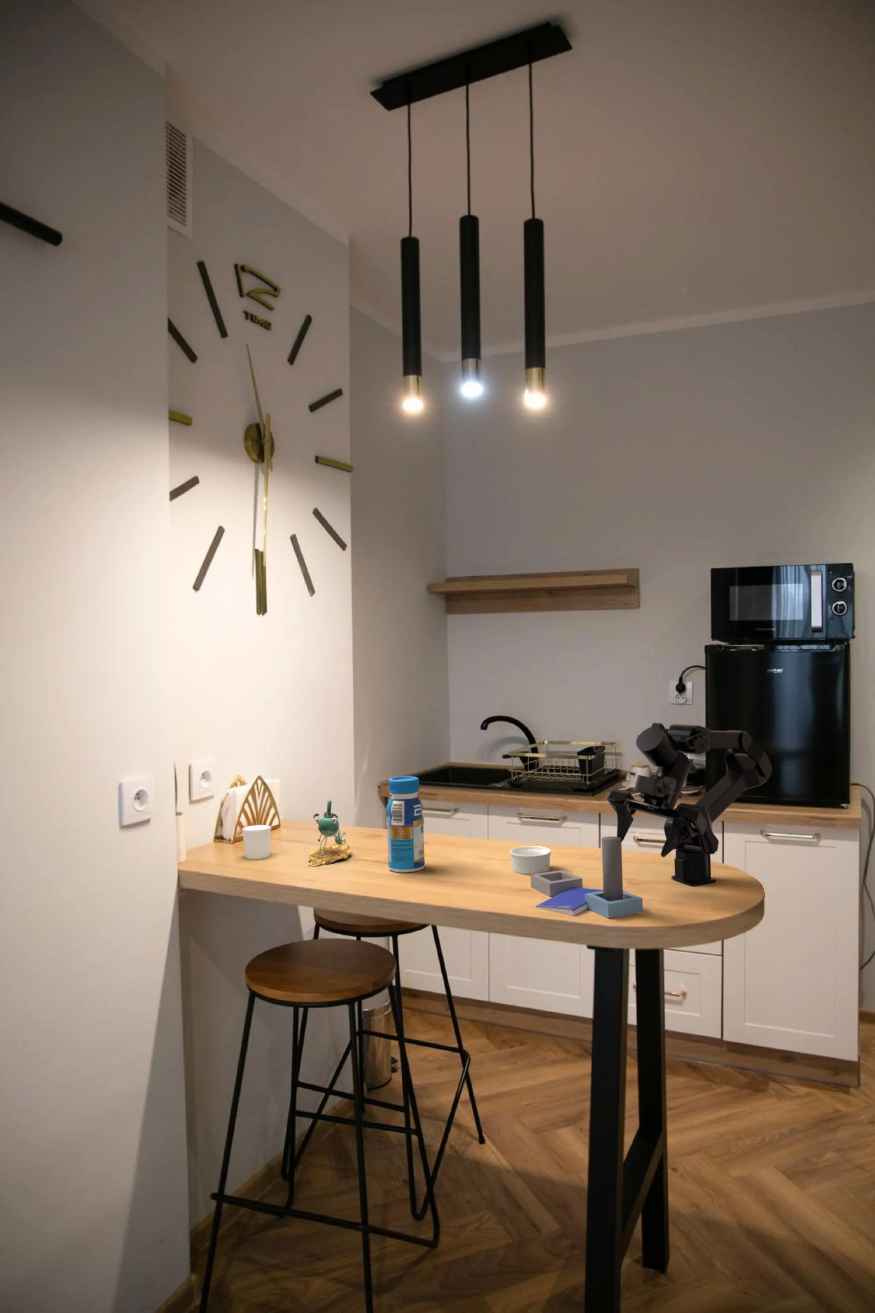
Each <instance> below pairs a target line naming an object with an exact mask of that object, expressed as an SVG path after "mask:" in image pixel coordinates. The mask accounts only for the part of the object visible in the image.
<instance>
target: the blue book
mask: <svg viewBox="0 0 875 1313" xmlns="http://www.w3.org/2000/svg"><path fill="white" fill-rule="evenodd" d="M599 891H603V889H599V888H587V887H583V888H576V887H573V888H570V889H569V890H566V891H564V892H562V893H560V894H558V895H556V896H551V898H549V899H546V900H545V901H542V902H540V903H538V904H537V905H535V909H539V910H544V911H549V912H553V913H559V914H563V915H566V916H567V915H569V916H572V917H573V916H576V915H578V914H580V913H582V912H584V911H586V910H587V908H588V905H587V901H585V894H587V893H593V892H599Z"/></svg>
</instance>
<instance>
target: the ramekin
mask: <svg viewBox="0 0 875 1313" xmlns="http://www.w3.org/2000/svg"><path fill="white" fill-rule="evenodd" d="M551 854H552V850H551V849H550V848H548V847H545V846H541V845H540V846H538V845H524V846H516V847H514V848H512V849H510V850H509V855H510V861H511V868H512V871H513V872H515V873H516V874H520V875H530V876H531V875H533V874H540V873H546V872H549V870H550V863H551Z"/></svg>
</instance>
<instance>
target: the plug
mask: <svg viewBox="0 0 875 1313" xmlns="http://www.w3.org/2000/svg"><path fill="white" fill-rule="evenodd" d="M622 851H623V850H622V843H621V838H620V837H617V836H604V837H602V838H601V858H602V859H601V860H602V861H601V862H602V865H601V866H602V888H603V889H602V890H603V898H604V899H605V900H607V901H616V900H622V899H623V890H624V888H623V887H624V886H623V884H624V882H623V881H624V880H623V856H622V855H623V852H622Z"/></svg>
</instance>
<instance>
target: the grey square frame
mask: <svg viewBox="0 0 875 1313" xmlns="http://www.w3.org/2000/svg"><path fill="white" fill-rule="evenodd" d="M583 886H584V885H583V878H582V877H580V876H578V875H575V874H572V873H570V872H568V871H566V870H563V869H560V870H555V871H554V870H553V871H547V872H545V873H540V874H533V875H530V887H531V889H534V890H536V891H538V892H540V893H542V894H544V895H546V896H548V897H554V896H556V895H558V894H560V893H562V892H564V891H566V890H569V889H570V888H573V887H576V888H584V887H583Z"/></svg>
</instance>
